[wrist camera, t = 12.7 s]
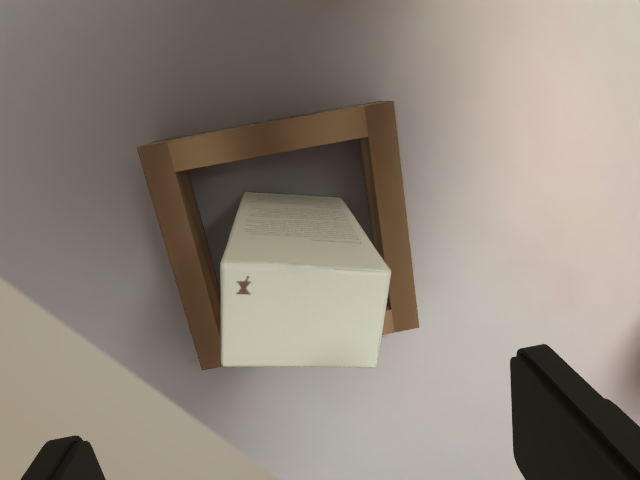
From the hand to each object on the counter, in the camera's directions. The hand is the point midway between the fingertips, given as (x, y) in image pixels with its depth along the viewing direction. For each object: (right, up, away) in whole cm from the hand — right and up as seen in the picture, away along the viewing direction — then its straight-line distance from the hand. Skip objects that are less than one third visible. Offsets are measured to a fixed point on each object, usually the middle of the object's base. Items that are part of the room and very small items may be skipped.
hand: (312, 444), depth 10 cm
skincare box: (-1, +5, +18) cm, 19 cm away
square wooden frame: (-2, +5, +17) cm, 18 cm away
